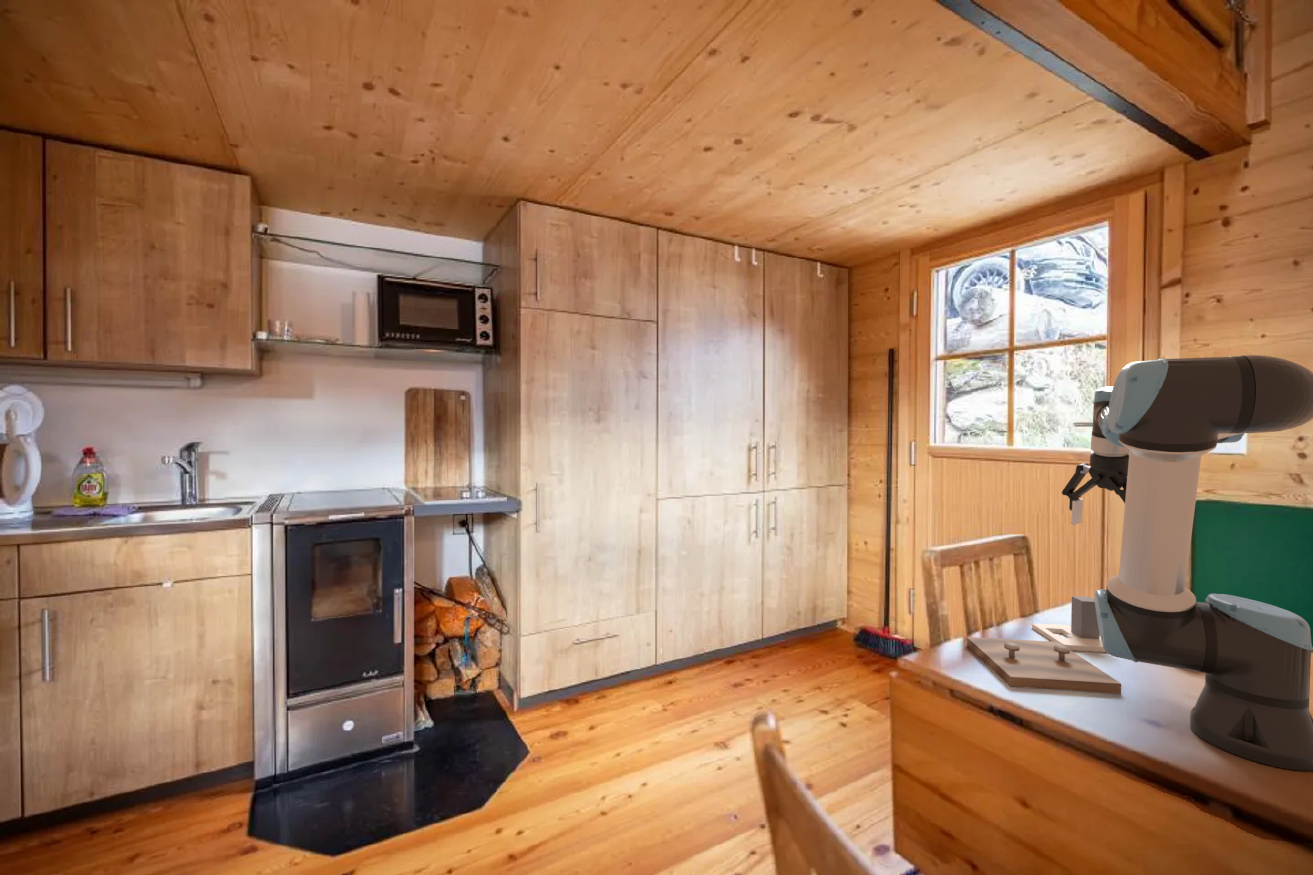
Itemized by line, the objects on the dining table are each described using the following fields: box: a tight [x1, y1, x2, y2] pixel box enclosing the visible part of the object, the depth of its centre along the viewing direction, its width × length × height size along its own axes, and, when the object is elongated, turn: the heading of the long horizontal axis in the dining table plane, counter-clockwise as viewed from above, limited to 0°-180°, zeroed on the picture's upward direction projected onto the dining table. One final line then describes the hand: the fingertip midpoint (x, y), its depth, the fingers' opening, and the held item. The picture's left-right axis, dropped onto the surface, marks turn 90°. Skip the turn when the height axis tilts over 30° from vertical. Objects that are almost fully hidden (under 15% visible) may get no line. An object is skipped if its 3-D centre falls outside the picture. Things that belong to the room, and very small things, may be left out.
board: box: [966, 636, 1122, 695], centre depth 119 cm, size 21×20×5 cm
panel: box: [1031, 595, 1107, 653], centre depth 134 cm, size 14×17×10 cm
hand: (1104, 533), depth 136 cm, fingers open, 13 cm apart
